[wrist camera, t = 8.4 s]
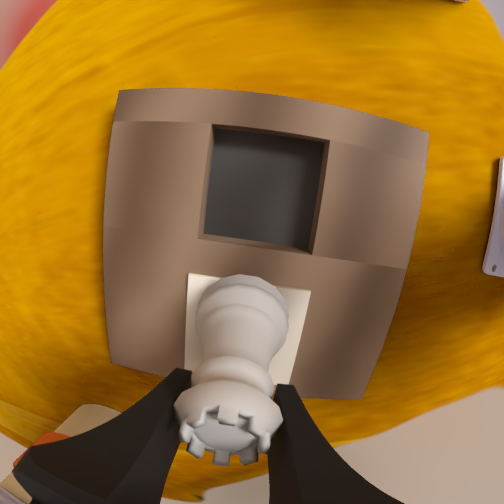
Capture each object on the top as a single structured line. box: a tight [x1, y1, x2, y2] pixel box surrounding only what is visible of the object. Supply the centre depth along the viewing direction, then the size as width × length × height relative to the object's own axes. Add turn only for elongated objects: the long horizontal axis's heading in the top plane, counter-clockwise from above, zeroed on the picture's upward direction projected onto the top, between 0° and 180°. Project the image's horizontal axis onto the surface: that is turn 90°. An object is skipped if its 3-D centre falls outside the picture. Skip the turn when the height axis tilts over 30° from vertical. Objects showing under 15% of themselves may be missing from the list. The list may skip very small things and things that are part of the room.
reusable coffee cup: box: [0, 404, 121, 504], centre depth 13 cm, size 12×13×15 cm
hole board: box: [103, 88, 429, 399], centre depth 15 cm, size 16×16×2 cm
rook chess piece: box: [174, 274, 289, 466], centre depth 10 cm, size 4×4×8 cm
